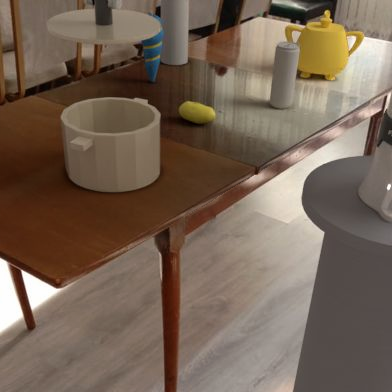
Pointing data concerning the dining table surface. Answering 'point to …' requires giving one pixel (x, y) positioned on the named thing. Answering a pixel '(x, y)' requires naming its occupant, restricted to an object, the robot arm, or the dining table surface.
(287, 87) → the beverage can
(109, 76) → the dining table surface
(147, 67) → the ornament
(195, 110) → the lemon
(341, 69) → the yellow sugar bowl
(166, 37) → the bottle
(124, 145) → the pot
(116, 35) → the lid
